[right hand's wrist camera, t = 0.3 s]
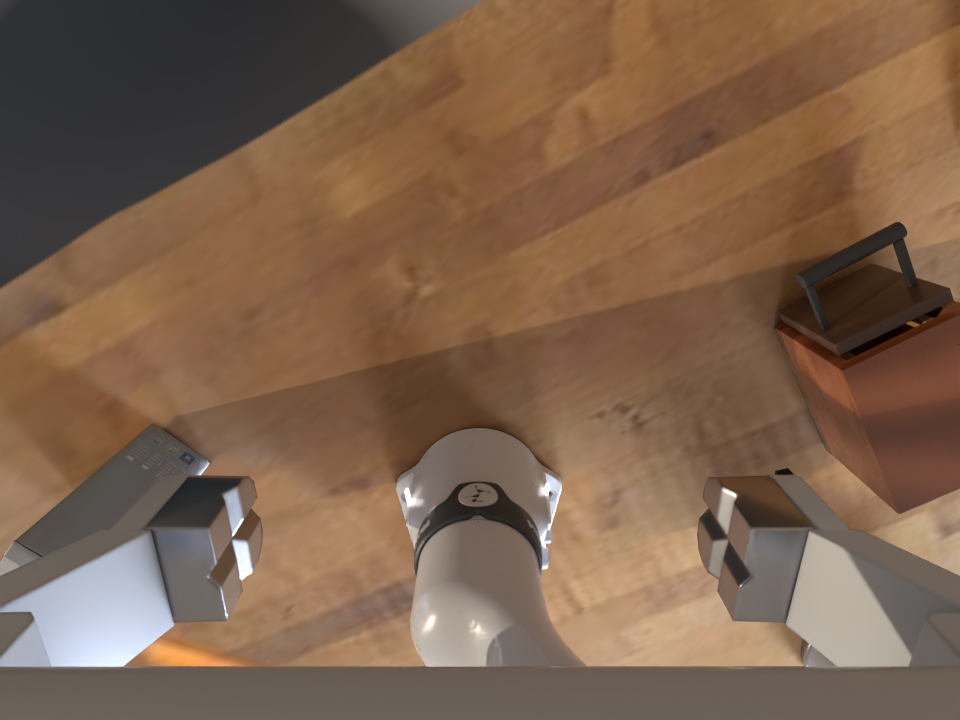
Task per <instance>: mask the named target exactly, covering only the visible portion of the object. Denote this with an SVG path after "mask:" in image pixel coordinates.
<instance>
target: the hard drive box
mask: <svg viewBox="0 0 960 720" xmlns="http://www.w3.org/2000/svg"><path fill="white" fill-rule="evenodd" d="M207 461H208V460H207V459H205V458H204V457H202V456H201V455H200V454H198V453H196V452H195V451H193V450H192V449H190V448H189V447H187V446H186V445H184V444H183V443H182V442H180V441H179V440H177V439H176V438H174V437H173V436H171V435H170V434H168V433H167V432H165V431H164V430H162V429H161V428H159V427H158V426H156V425H154V424H151V425H150V426H149V427H148V428H146V429H145V430H144V431H143V432H142V433H140V434H139V435H138V436H137V437H136V438H134V439H133V440H132V441H131V442H130V443H129V444H127V445H126V446H125V447H124V448H123V449H122V450H120V451H119V452H118V453H117V454H116V455H115V456H113V457H112V458H111V459H110V460H109V461H108V462H106V463H105V464H104V465H103V466H102V467H101V468H100V469H98V470H97V471H96V472H95V473H94V474H93V475H91V476H90V477H89V478H88V479H87V480H86V481H84V482H83V483H82V484H81V485H80V486H79V487H77V488H76V489H75V490H74V491H73V492H72V493H70V494H69V495H68V496H67V497H66V498H65V499H63V500H62V501H61V502H60V503H59V504H58V505H56V506H55V507H54V508H53V509H52V510H51V511H49V512H48V513H47V514H46V515H45V516H43V517H42V518H41V519H40V520H39V521H38V522H36V523H35V524H34V525H33V526H32V527H30V528H29V529H28V530H27V531H26V532H25V533H23V534H22V535H21V536H20V537H19V538H17V539H16V540H15V541H13V543H12V544H11V546H10V547H9V549H8V550H7V551H6V553H5V554H4V555H3V557H2V558H1V559H0V576H1V575H3V574H5V573H8V572H10V571H12V570H14V569H16V568H18V567H20V566H23V565H25V564H27V563H29V562H31V561H33V560H36V559H38V558H40V557H42V556H44V555H46V554H49V553H51V552H53V551H55V550H57V549H59V548H62V547H64V546H66V545H68V544H70V543H72V542H75V541H77V540H79V539H81V538H83V537H85V536H87V535H90V534H92V533H94V532H96V531H98V530H109V529H110V528H111V527H112V526H113V525H114V524H115V523H116V522H117V521H118V520H119V519H120V518H121V517H122V516H123V515H124V514H125V513H126V512H127V511H128V510H129V509H130V507H131V506H132V505H133V504H134V503H135V502H136V501H137V500H138V499H139V498H140V497H141V496H142V495H143V494H144V493H145V492H146V491H147V490H148V489H149V488H150V487H151V486H152V485H153V484H154V483H155V481H156V480H157V479H158V478H159V477H162V476H166V475H193V476H194V475H201V474H202V473H203V471H204V470H205V469H206V468H207V466H208V465H209V462H207Z"/></svg>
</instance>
